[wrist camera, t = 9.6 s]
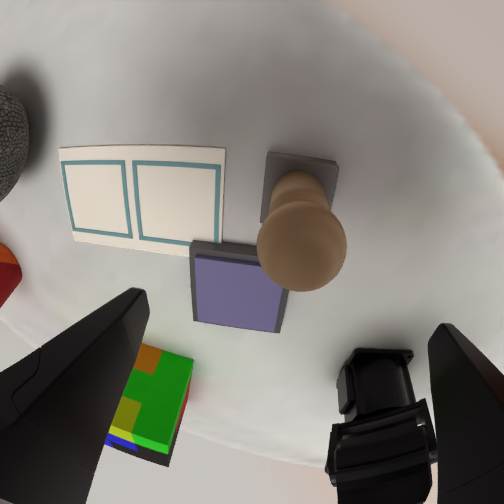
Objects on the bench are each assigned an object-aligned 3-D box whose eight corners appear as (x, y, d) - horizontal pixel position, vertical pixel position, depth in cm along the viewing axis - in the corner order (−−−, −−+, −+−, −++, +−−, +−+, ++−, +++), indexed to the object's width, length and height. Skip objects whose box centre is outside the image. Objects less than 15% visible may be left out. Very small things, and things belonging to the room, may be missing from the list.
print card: (225, 148, 17) (224, 149, 16) (221, 259, 21) (220, 262, 21) (59, 148, 17) (57, 149, 17) (75, 239, 22) (73, 240, 21)
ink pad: (294, 251, 20) (294, 264, 19) (280, 322, 24) (279, 337, 22) (194, 238, 20) (187, 250, 19) (197, 310, 24) (192, 324, 23)
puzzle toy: (116, 375, 33) (89, 437, 25) (106, 329, 28) (65, 403, 19) (187, 399, 34) (168, 467, 25) (194, 359, 28) (167, 445, 20)
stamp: (335, 161, 16) (373, 230, 9) (323, 220, 18) (342, 318, 11) (268, 151, 17) (250, 213, 9) (261, 212, 19) (242, 307, 11)
